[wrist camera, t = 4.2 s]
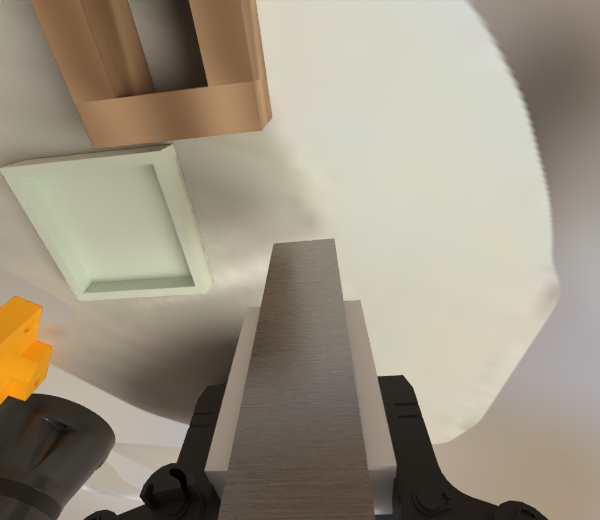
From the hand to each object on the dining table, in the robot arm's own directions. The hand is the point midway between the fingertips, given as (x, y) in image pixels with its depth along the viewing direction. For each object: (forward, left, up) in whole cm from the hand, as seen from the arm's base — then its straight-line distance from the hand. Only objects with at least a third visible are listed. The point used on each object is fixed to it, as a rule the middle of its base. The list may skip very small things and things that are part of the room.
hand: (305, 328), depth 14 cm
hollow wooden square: (-7, +12, -13) cm, 19 cm away
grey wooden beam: (0, 0, -5) cm, 5 cm away
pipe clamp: (-32, -13, -14) cm, 37 cm away
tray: (-15, 0, -13) cm, 20 cm away
